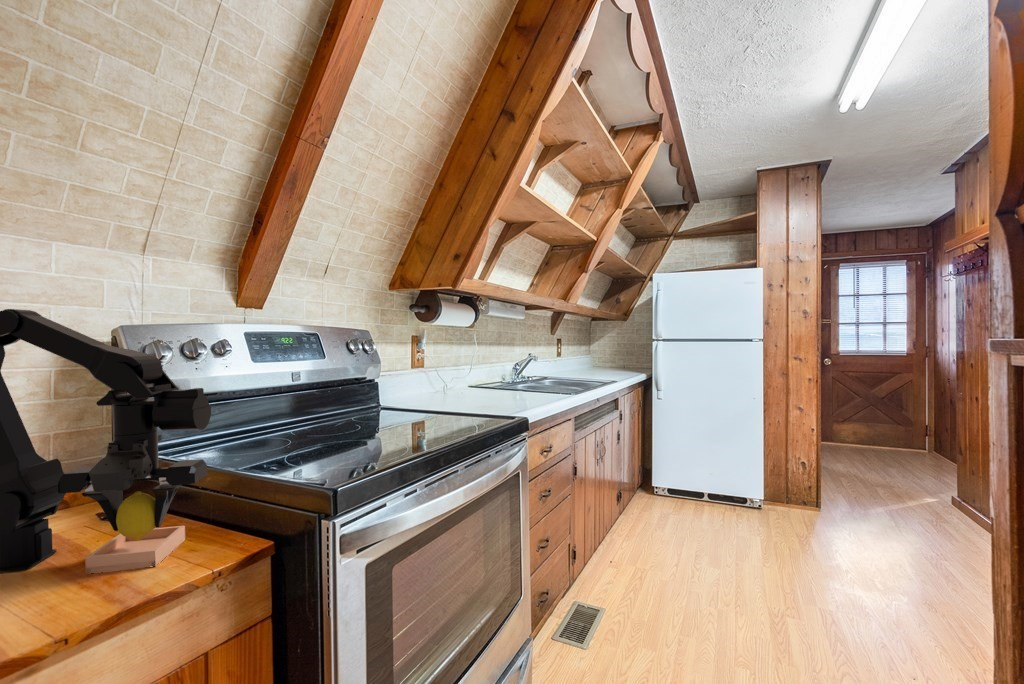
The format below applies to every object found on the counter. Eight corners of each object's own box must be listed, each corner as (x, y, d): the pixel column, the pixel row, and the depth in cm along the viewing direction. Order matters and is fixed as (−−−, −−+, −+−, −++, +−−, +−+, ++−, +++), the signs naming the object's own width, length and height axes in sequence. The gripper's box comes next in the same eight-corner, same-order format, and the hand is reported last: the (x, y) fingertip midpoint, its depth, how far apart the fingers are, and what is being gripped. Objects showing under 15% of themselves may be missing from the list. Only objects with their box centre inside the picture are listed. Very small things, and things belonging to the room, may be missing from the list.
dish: (85, 574, 73) (85, 557, 73) (124, 545, 83) (124, 531, 83) (155, 567, 75) (155, 550, 75) (185, 539, 85) (184, 525, 85)
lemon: (109, 544, 78) (108, 494, 78) (148, 531, 83) (147, 484, 83) (127, 550, 76) (126, 499, 75) (166, 537, 80) (165, 489, 80)
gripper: (29, 446, 69) (32, 556, 69) (178, 438, 73) (180, 542, 73) (80, 431, 80) (82, 527, 80) (207, 425, 84) (209, 516, 84)
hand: (137, 528), depth 79 cm, fingers closed on lemon, 5 cm apart
